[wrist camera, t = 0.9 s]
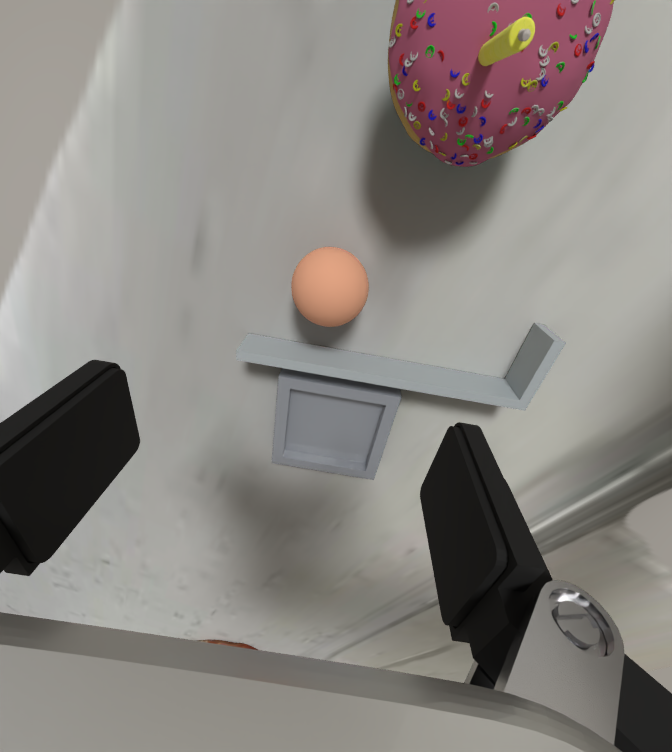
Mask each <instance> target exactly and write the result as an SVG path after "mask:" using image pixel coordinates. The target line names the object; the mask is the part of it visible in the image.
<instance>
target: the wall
mask: <svg viewBox="0 0 672 752" xmlns="http://www.w3.org/2000/svg"><path fill="white" fill-rule="evenodd" d="M565 344H566V342H565V341H563V340H562V339H561V338H560V337H559V336H557V335H556V334H555V333H554V332H553V331H552V330H550V329H549V328H548V327H547V326H546V325H543V324H538V323H534V324H533V326H532V328H531V330H530V332H529V334H528V336H527V338H526V340H525V341H524V343H523V345H522V347H521V349H520V351H519V353H518V355H517V357H516V359H515V360H514V362H513V364H512V366H511V368H510V370H509V372H508V374H507V376H506V377H505V379H503V378H498V377H492V376H486V375H481V374H475V373H469V372H464V371H458V370H453V369H447V368H441V367H436V366H430V365H424V364H419V363H413V362H408V361H402V360H396V359H391V358H385V357H379V356H374V355H368V354H363V353H357V352H351V351H346V350H340V349H334V348H329V347H323V346H318V345H312V344H306V343H301V342H295V341H289V340H284V339H278V338H273V337H267V336H261V335H256V334H250V333H248V335H247V336H246V338H245V339H244V340H243V342H242V343H241V345H240V346H239V347H238V349H237V350H236V360H239V361H245V362H251V363H256V364H262V365H268V366H274V367H279V368H285V369H291V370H296V371H302V372H308V373H313V374H319V375H325V376H331V377H336V378H342V379H348V380H353V381H359V382H365V383H370V384H376V385H382V386H388V387H393V388H399V389H405V390H410V391H416V392H422V393H428V394H433V395H439V396H445V397H450V398H456V399H462V400H467V401H473V402H479V403H485V404H490V405H496V406H502V407H507V408H513V409H519V410H524V411H525V410H526V408H527V407H528V405H529V403H530V402H531V400H532V398H533V397H534V395H535V393H536V392H537V390H538V388H539V387H540V385H541V383H542V382H543V380H544V378H545V377H546V375H547V373H548V372H549V370H550V369H551V367H552V365H553V364H554V362H555V360H556V359H557V357H558V355H559V354H560V352H561V350H562V349H563V347H564V345H565Z"/></svg>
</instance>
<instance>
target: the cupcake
mask: <svg viewBox="0 0 672 752" xmlns="http://www.w3.org/2000/svg"><path fill="white" fill-rule="evenodd" d="M613 3H614V0H396V3H395V7H394V12H393V17H392V23H391V30H390V39H389V49H388V75H389V84H390V91H391V96H392V100H393V104H394V107H395V109H396V112H397V114H398V116H399V118H400V120H401V121H402V123H403V125H404V127H405V129H406V131H407V133H408V135H409V136H410V137H411V138H412V140H414V141H415V142H416V143H417V144H418V145H420V146H421V147H422V148H424V149H425V150H427V151H428V152H430V153H433V154H434V155H435V156H436V157H437V158H438V159H439V160H441V161H442V162H444V163H447V164H450V165H454V166H462V167H468V166H475V165H478V164H480V163H482V162H484V161H486V160H488V159H491V158H494V157H497V156H499V155H502V154H504V153H506V152H508V151H510V150H512V149H514V148H516V147H518V146H520V145H522V144H523V143H525V142H527V141H529V140H530V139H532V138H534V137H536V135H537V134H538V133H539V132H540V131H541V130H542V129H543V128H544V127H545V126H546V125H547V124H548V123H549V122H550V121H552V120H553V118H554V117H555V116H556V115H557V114H558V113H559V112H560V111H562V110H565V109H567V107H566V106H567V105H568V104H569V103H570V102H571V101H572V99H573V98H574V97H575V95H576V93H577V92H578V90H579V88H580V86H581V85H582V83H584V82H585V81H586V79H587V76H588V73H589V72H591V71H592V70H593V68H594V63H595V61H594V59H595V57H596V54H597V52H598V49H599V47H600V45H601V42H602V40H603V37H604V35H605V32H606V30H607V27H608V24H609V21H610V18H611V14H612V9H613ZM591 67H592V68H591ZM590 68H591V69H590Z"/></svg>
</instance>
